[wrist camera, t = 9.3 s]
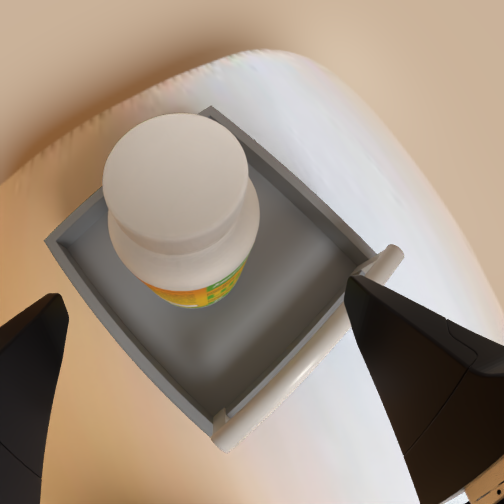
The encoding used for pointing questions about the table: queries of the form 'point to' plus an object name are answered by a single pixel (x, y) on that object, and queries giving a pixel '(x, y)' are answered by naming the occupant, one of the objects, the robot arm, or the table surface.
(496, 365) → the robot arm
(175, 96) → the table surface
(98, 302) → the grey toy cart
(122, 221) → the supplement bottle
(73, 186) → the table surface
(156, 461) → the table surface
